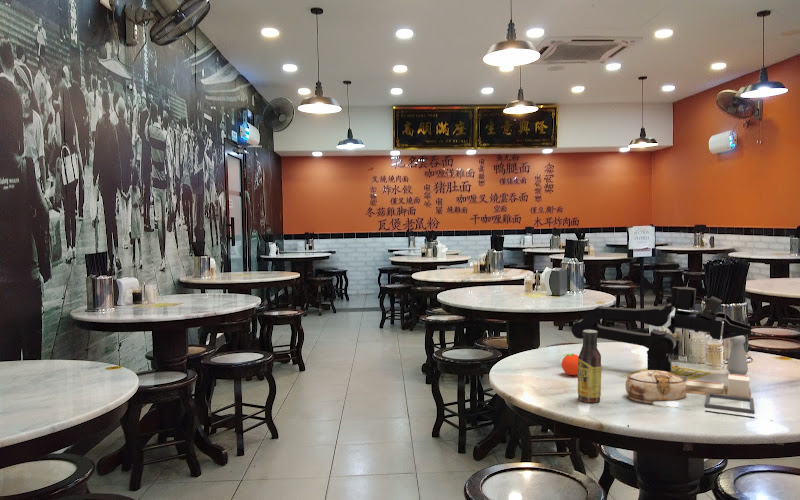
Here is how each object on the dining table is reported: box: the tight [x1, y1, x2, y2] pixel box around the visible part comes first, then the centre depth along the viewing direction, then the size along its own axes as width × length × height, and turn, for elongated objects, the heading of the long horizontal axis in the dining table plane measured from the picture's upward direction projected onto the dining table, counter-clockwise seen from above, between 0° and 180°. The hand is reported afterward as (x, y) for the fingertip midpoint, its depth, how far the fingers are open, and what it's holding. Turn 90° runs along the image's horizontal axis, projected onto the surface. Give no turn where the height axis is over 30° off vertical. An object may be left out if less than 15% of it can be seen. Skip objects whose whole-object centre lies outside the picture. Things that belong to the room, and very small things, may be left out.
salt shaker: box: [726, 335, 749, 375], centre depth 181 cm, size 6×6×13 cm
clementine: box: [558, 353, 579, 376], centre depth 186 cm, size 8×7×7 cm
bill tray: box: [704, 393, 755, 419], centre depth 151 cm, size 11×11×2 cm
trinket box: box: [624, 370, 688, 404], centre depth 160 cm, size 13×15×8 cm
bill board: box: [679, 375, 752, 398], centre depth 163 cm, size 18×12×4 cm, turn 60°
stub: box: [727, 373, 750, 397], centre depth 160 cm, size 5×6×5 cm
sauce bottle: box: [577, 330, 602, 404], centre depth 160 cm, size 7×6×20 cm
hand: (751, 330), depth 170 cm, fingers open, 9 cm apart
